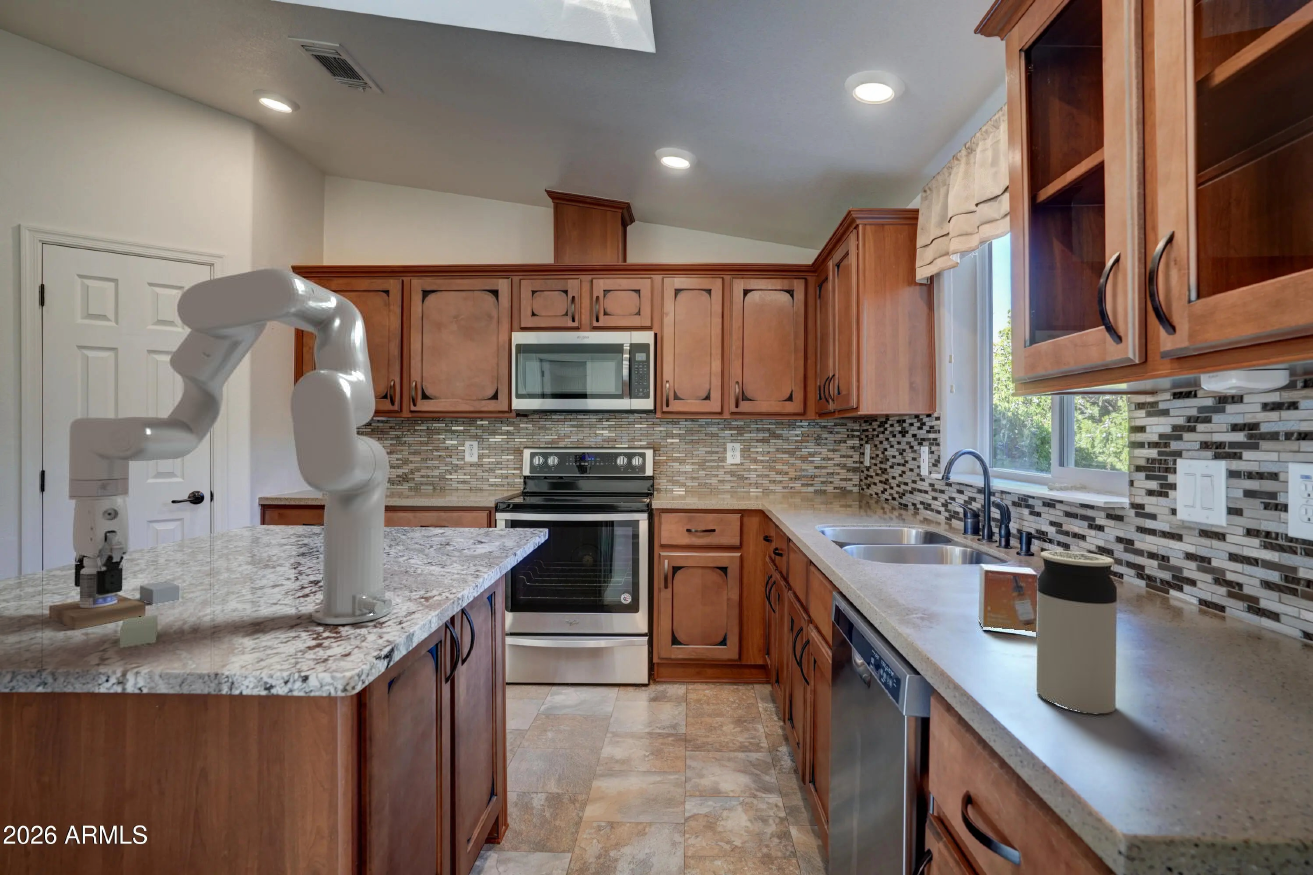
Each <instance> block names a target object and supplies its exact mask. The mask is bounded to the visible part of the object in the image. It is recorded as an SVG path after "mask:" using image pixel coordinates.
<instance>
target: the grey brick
mask: <svg viewBox="0 0 1313 875" xmlns="http://www.w3.org/2000/svg"><path fill="white" fill-rule="evenodd" d="M141 600H142V601H141ZM175 600H177V601H180V585H179V584H175V583H172V582H170V581H166V580H165V581H159V582H153V583H148V584H141V585H139V601H141V602H143V601H146V602H148V603H147V604H149V603H150V604H149V605H151V604H156V605H159V604H158V603H162V604H165V603H164V602H167V603H170V602H169V601H172V602H176V601H175ZM146 602H145V603H146Z"/></svg>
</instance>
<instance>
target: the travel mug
mask: <svg viewBox="0 0 1313 875" xmlns="http://www.w3.org/2000/svg"><path fill="white" fill-rule="evenodd" d="M1039 556H1040V557H1041V558H1042V560H1043V566H1044V567H1043V570H1042V571H1041V573H1040V574H1039V575H1038V591H1037V636H1036V693H1037V692H1038V693H1039V694H1040V695H1041V696H1042V697H1044V698H1045V699H1047V700H1049V701H1051V702H1053V703H1057V704H1059V705H1061V706H1064V707H1067V708H1068V709H1072V710H1077V711H1080V712H1086V713H1104V714H1109V713H1111V712H1114V711H1115V710H1116V701H1117V700H1116V694H1117V693H1116V692H1117V688H1116V687H1117V682H1116V681H1117V622H1118V621H1117V616H1118V614H1117V611H1118V609H1117V605H1118V604H1117V603H1118V602H1117V599H1118V587H1117V586H1116V583H1115V582H1114V580H1113V579H1112V577H1111V570H1112V567H1113V565H1114V564H1115V560H1114V559H1113V558H1111V557H1108V556H1104V555H1101V554H1096V553H1091V552H1082V551H1072V550H1044V551H1042V552H1040V555H1039ZM1038 693H1037V694H1038ZM1039 694H1038V695H1039ZM1040 695H1039V696H1040ZM1041 696H1040V697H1041ZM1042 697H1041V698H1042ZM1044 698H1043V699H1044ZM1045 699H1044V700H1045ZM1047 700H1046V701H1047ZM1086 713H1085V714H1086Z"/></svg>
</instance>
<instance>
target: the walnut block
mask: <svg viewBox="0 0 1313 875" xmlns="http://www.w3.org/2000/svg"><path fill="white" fill-rule="evenodd" d="M146 604H147V603H145V602H142V601H138V600H135V599H133V598H130V597H127V596H124V595H121V594H118V593H117V602H116V603H115V604H112V605H109V606H104V607H98V608H81V607H80V600H75V601H70V602H64V603H57V604H52V605H49V607H48V618H49V619H51V620H53V621H55V622H58V623H60V624H62V625H64V626H66V627H68V628H70V629H71V630H81V629H85V628H89V627H90V628H91V627H96V626H100V625H105V623H106V624H110V623H109V622H111V623H116V622H121V621H123V620H124V619H130V618H137V617H139V616H141V617H144V616H143V615H145V616H146V607H147V606H146ZM95 625H96V626H95Z"/></svg>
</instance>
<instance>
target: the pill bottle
mask: <svg viewBox="0 0 1313 875" xmlns="http://www.w3.org/2000/svg"><path fill="white" fill-rule="evenodd" d="M106 559H107V558H104V561H106ZM84 566H85V568H83V569H82V570H81V572H80V587H79V601H80V607H81V608H98V607H104V606H109V605H112V604H115V603H116V602H117V594H118V592H116V593H110V594H104V595H97V594H96V571H100V570H99V566H98V563H97V559H96V558H91V557H84Z"/></svg>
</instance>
